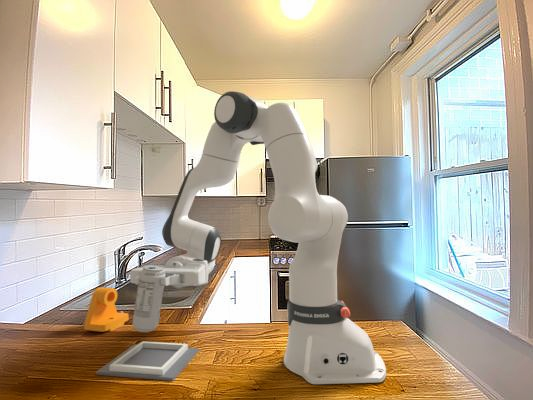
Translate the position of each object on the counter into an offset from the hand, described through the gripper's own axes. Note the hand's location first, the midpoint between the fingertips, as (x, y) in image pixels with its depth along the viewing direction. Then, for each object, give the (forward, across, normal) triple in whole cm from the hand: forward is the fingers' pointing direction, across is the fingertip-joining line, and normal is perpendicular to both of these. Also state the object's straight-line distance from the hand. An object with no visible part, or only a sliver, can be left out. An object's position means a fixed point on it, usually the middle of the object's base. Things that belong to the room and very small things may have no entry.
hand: (150, 281), depth 73 cm
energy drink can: (-1, -2, +12) cm, 12 cm away
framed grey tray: (+1, +1, +18) cm, 19 cm away
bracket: (-16, -27, +18) cm, 36 cm away
